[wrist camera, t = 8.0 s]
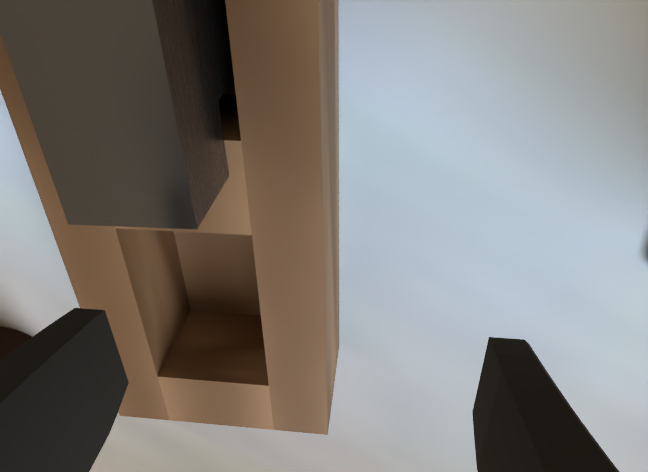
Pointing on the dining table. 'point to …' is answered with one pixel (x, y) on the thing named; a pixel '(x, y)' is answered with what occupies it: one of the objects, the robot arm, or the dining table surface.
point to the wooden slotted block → (230, 243)
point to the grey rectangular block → (125, 104)
